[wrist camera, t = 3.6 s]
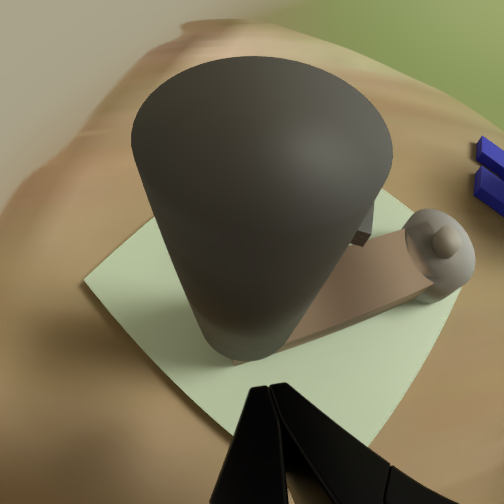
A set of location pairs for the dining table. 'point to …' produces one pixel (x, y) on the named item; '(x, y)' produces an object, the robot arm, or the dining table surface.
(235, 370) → the plate
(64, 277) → the dining table surface
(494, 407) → the dining table surface
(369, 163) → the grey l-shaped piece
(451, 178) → the dining table surface
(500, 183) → the mount
